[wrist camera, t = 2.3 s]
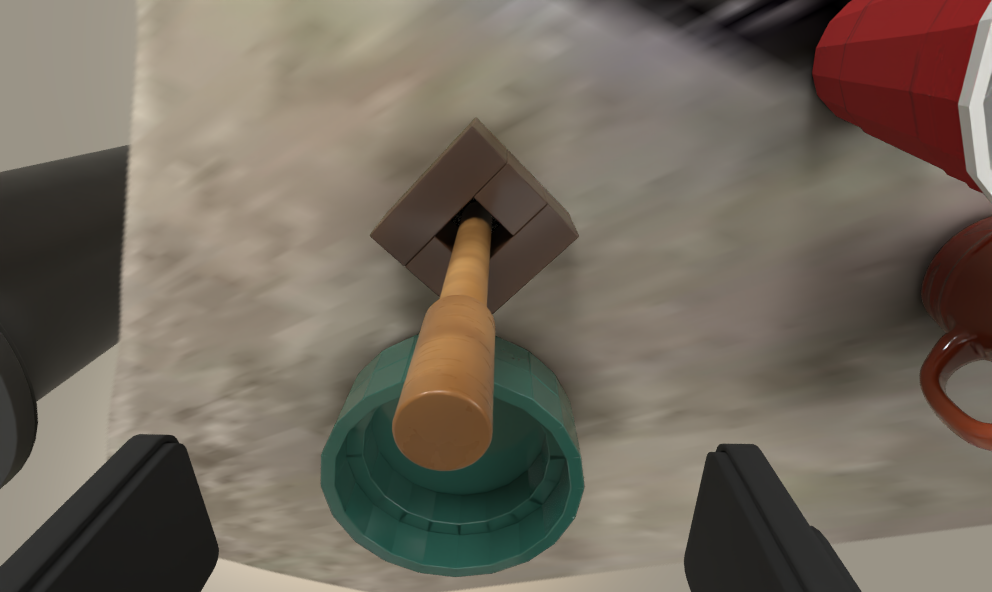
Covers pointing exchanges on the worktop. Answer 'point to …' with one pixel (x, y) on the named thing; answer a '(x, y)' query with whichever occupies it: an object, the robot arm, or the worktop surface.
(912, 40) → the plastic cup
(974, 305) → the mug
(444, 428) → the stick
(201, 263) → the worktop surface
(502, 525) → the bowl
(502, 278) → the holder
